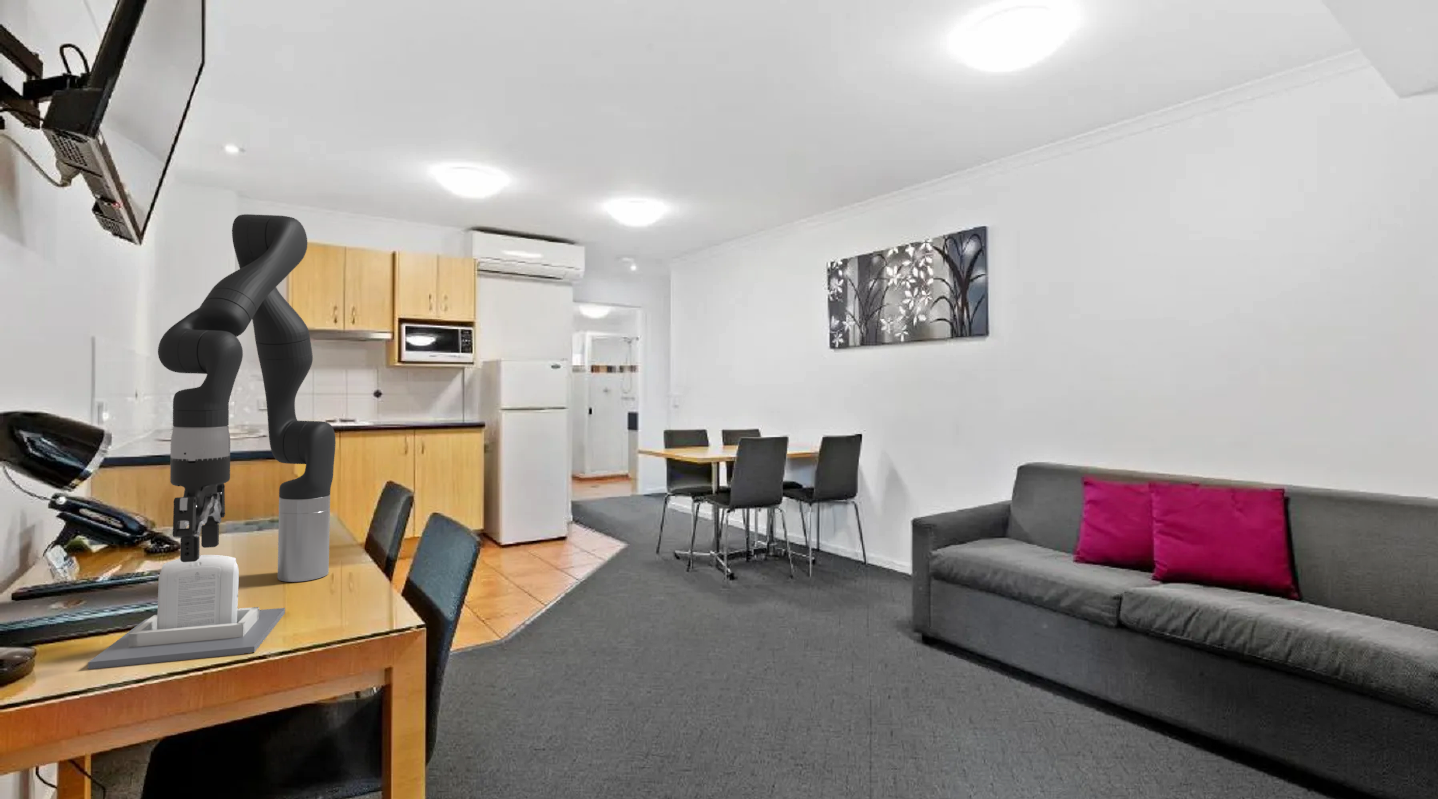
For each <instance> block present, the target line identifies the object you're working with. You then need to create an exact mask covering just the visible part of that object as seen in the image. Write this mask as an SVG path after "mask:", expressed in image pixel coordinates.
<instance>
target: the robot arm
mask: <svg viewBox="0 0 1438 799" xmlns="http://www.w3.org/2000/svg"><path fill="white" fill-rule="evenodd" d="M231 236H232V237H231V238H232V239H231V240H232V244H233V248H234V252H235V257H236V260H237V263H238V267H239V269H237V270H236V271H234V272H232V273H230V274H228V275H226V276H224V277H223V278H222V279H221V280H220V281H218V282H217V283H216V284H215V285H214V286H213V287H212V289H211V290H210V292H209V293H208V294H207V295H206V297H205V298H204V300H203V301H202V303H201V304H200V306H199V307H198V308H196V309H195V310H193V311H191V312H190V313H189V314H187V315H186V316H185V317H184V318H182V319H180V320H179V321H177V322H176V323H175V324H174V325H172V326H171V327H170V328H168V329H167V331H166V332H165V333H164V334H163V336H162V337H161V339H160V340H159V344H158V347H157V354H158V359H159V361H160V363H161V365H162V366H163V367H164V368H166V369H167V370H169V371H170V372H174V373H179V374H198V375H199V374H200V375H201V374H202V375H206V376H205V379H204V381H203V382H202V383H201V384H200V385H199V386H197V387H191V388H184V389H181V390H178V391H177V392H175V394H173V399H172V432H171V437H170V462H169V463H170V465H169V466H170V468H169V469H170V470H169V471H170V473H169V474H170V479H169V480H170V484H171V485H172V486H175V487H182V488H184V492H183V495H182V496H180V497H174V499H173V514H172V515H173V518H172V519H173V521H172V536H173V538H178V539H179V540H180V541H179V542H180V547H179V548H180V553H179V554H180V557H179V559H180V560H181V561H182V562H195V561H197V560H198V559H199V555H200V547H202V548H216V547H217V546H219V543H220V524H221V523H222V518H224V517H225V515H226V504H225V503H226V498H225V496H226V495H225V493H226V492H225V487H226V485H225V484H226V483H228V482H229V481H230V479H231V435H230V430H229V418H230V417H229V415H230V412H229V411H230V409H229V408H230V407H229V404H230V398H231V394H232V392H233V388H234V385H235V382H236V378H237V375H238V373H239V371H240V367H241V365H242V361H243V357H244V353H243V352H244V351H243V346H242V343H241V342H240V340H239V338H238V337H239V336H240V335H243V333H244V332H245V331H246V330H247V328H248V326H249V324H250V323H251V322H252V325H253V333H254V340H255V345H256V346H255V347H256V351H257V357H258V361H259V364H260V372H261V376H262V382H263V387H264V393H265V399H266V400H265V402H266V412H267V413H266V414H267V426H268V427H267V430H268V441H269V446H270V451H271V454H272V455H273V457H274V459H275V460H276V461H277V462H279V463H282V464H291V465H305V469H304V473H303V474H302V475H300V476H299V477H297V478H294V479H290V480H287V481H284V482H283V483H281V484H280V485H279V490H278V491H279V492H278V531H277V532H278V533H277V534H278V535H277V536H278V542H277V545H278V546H277V580H279V581H282V582H287V583H288V582H292V583H293V582H294V583H297V582H306V581H311V580H313V581H314V580H316V579H320V578H323V577H326V576H327V575H328V574H329V573H330V572H329V566H330V530H331V529H330V528H331V527H330V526H331V525H330V524H331V522H330V521H331V487H332V483H333V479H334V468H335V467H334V466H335V457H336V456H335V455H336V442H337V441H336V434H335V430H334V427H333V426H332V424H331V423H329V422H327V421H320V420H318V421H317V420H298V419H297V417H296V415H297V414H296V397H297V394H298V391H299V390H300V387H301V386H302V385H303V383H304V381H305V379H306V377H307V376H308V373H309V372H310V370H311V367H312V364H313V360H314V358H313V349H312V348H313V347H312V343H311V336H310V331H309V328H308V325H307V324H306V322H305V321H304V319H302V318H301V316H300V315H299V313H298V312H297V311H296V310H295V309H294V308H293V306H291V304H290V303H288V301H287V300H286V298H284V296H283V295H282V294H281V293H280V291H279V290H278V288H277V287H278V286H279V285H280V284H281V283H282V281H283V280H284V279H285V278H287V276H288V275H290V274H291V272H292V271H293V270H294V269H295V268H296V267H298V265H299V264H300V263H301V262H302V260H303V259H304V258H305V255H306V253H307V249H308V236H307V232H306V230H305V228H304V226H303V224H302V223H301V222H300V221H299V220H298V219H297V218H295V217H292V216H288V215H287V216H285V215H275V214H274V215H272V214H253V213H251V214H248V213H244V214H239V215H237V216H236V217H235V219H234V220H233V223H232V228H231ZM187 526H188V528H187ZM200 535H201V541H200ZM200 544H201V546H200Z"/></svg>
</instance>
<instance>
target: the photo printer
mask: <svg viewBox="0 0 1438 799" xmlns="http://www.w3.org/2000/svg"><path fill="white" fill-rule="evenodd" d="M239 571H240V570H239V565H238V564H237V558H236V557H234V556H230V555H229V556H228V555H222V554H220V555H219V554H201V555H200V554H199V559H198V560H197V561H195V562H182V561H181V560H180V558H176V559H174V560H170V561H167V562H165V563H163V564H162V567H161V570H160V573H159V576H158V584H157V585H158V588H157V589H158V591H157V592H158V593H157V613H156V615H157V630H159V629H171V628H183V627H195V626H207V625H219V624H231V623H237V609H239V608H238V605H239V604H238V603H239V579H240V578H239V577H240V574H239V573H240V572H239Z"/></svg>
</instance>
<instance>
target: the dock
mask: <svg viewBox="0 0 1438 799" xmlns="http://www.w3.org/2000/svg"><path fill="white" fill-rule="evenodd" d="M285 614H286V608H285V607H281V608H280V607H278V608H265V609H260V607H259V606H256V607H255V606H254V607H241V608H238V609H237V623H231V624H219V625H207V626H195V627H183V628H171V629H159V630H157V614H154V615H152V616H151V617H149V618H146V619H144V620H142V621H141V622H140V623H139V624H137V625H135V626H134V628H131V630H129V631H128V632H126V633H125V634H124V635H123V636H121V637H120V638H118V639H117V640H116V641H115V642H112V644H110V645H109V646H108V647H107V648H106V649H104V650H103V651H101V652H100V653H98V654H97V655H96V656H94V657H93V658H91V660H90V661H88V662H87V669H88V670H94V669H103V668H104V669H105V668H115V667H123V666H124V667H125V666H134V665H143V664H154V663H155V664H157V663H164V662H165V663H166V662H174V661H184V660H185V661H186V660H195V659H196V660H197V659H206V658H216V657H225V656H236V655H238V656H239V655H245V654H244V653H248V654H251V653H250V652H256V651H257V650H258V649H259V647H260V646H261V645H262V644H263V642H264V641H265V640H266V638H267V637H268V636H269V634H271V632H272V630H273V629H275V627H276V626H277V624H278V623H279V622H280V620H281V619H282V618H283V616H285ZM263 640H264V641H263ZM260 644H261V645H260ZM257 648H258V649H257ZM256 649H257V650H256Z"/></svg>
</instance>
